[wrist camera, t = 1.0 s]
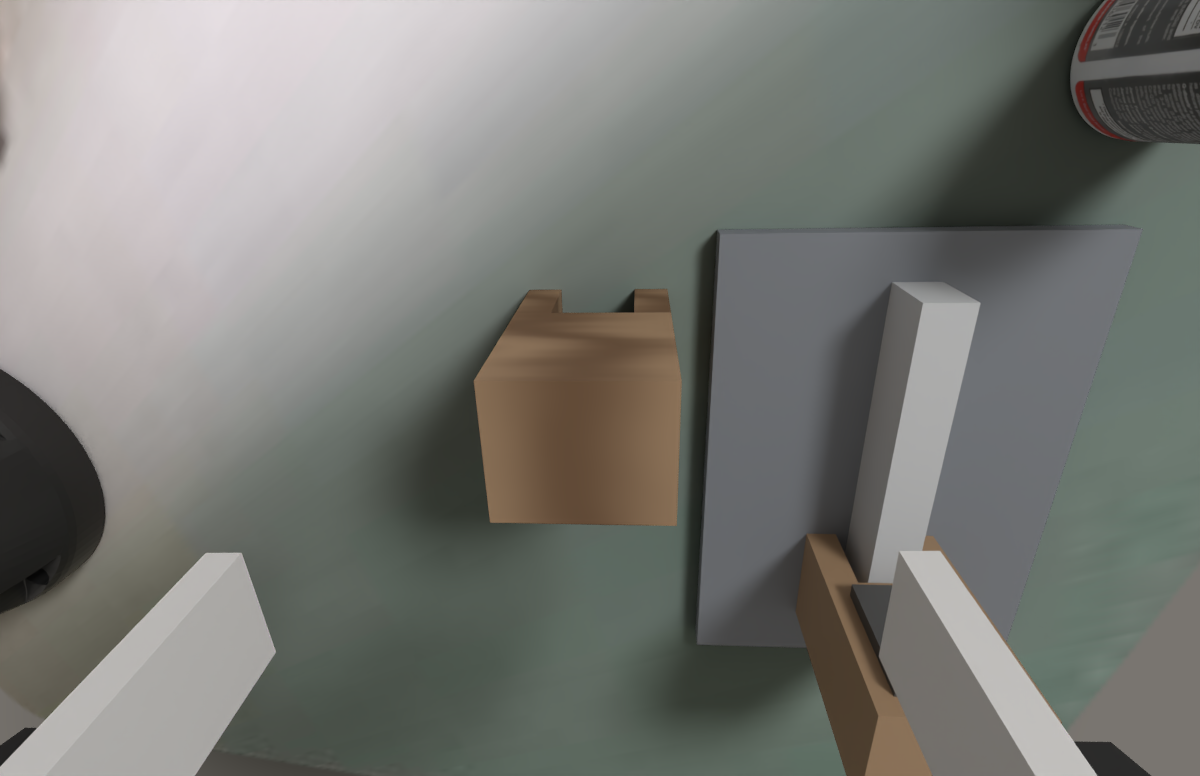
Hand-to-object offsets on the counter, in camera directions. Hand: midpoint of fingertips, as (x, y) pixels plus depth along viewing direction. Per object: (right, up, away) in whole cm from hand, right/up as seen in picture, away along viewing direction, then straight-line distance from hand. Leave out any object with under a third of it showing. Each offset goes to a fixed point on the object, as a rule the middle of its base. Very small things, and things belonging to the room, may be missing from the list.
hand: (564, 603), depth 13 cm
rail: (+14, +1, +17) cm, 22 cm away
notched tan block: (+1, +6, +15) cm, 17 cm away
